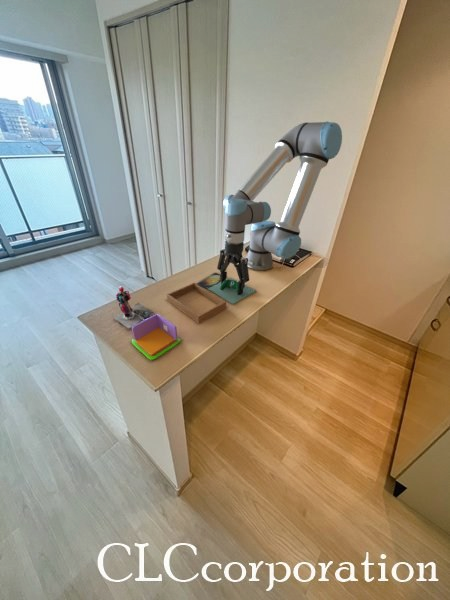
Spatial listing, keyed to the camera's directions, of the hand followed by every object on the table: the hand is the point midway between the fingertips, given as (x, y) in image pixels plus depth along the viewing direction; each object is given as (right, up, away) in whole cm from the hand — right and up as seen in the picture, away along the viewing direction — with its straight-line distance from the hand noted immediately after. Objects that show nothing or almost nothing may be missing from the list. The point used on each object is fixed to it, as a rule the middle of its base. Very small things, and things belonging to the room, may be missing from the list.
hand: (231, 289), depth 107 cm
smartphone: (-9, +4, +7) cm, 13 cm away
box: (-15, -7, -9) cm, 19 cm away
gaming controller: (0, 0, +1) cm, 1 cm away
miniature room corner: (-26, -19, -28) cm, 42 cm away
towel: (0, 0, 0) cm, 1 cm away
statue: (-37, -11, -17) cm, 42 cm away
